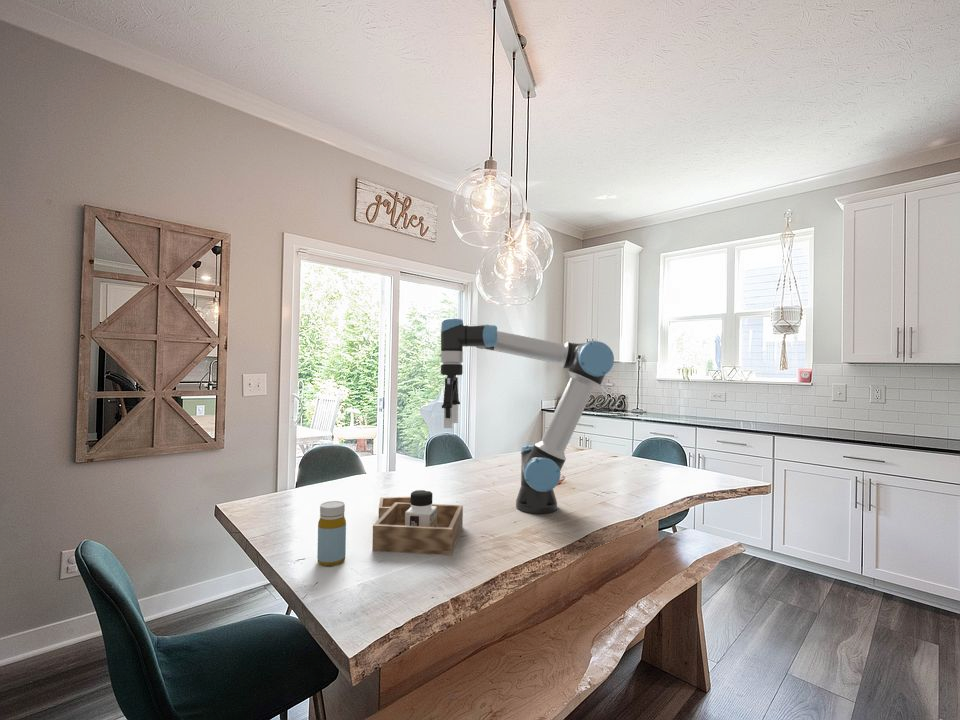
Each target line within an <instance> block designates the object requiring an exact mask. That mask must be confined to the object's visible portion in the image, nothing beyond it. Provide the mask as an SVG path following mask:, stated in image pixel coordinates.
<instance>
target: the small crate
mask: <svg viewBox="0 0 960 720" xmlns="http://www.w3.org/2000/svg"><path fill="white" fill-rule="evenodd" d="M395 502H400V503H411V496H401V497H400V496H391V497H389V496H388V497H380V498H379V506H378V520H379V519H380V518H381V517H382V515H383V514H384V513H385V512H386V511H387V510H388V509H389V508H390V507H391V506H392V505H393V504H394V503H395ZM378 520H377V521H378ZM397 522H401V507H397Z"/></svg>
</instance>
